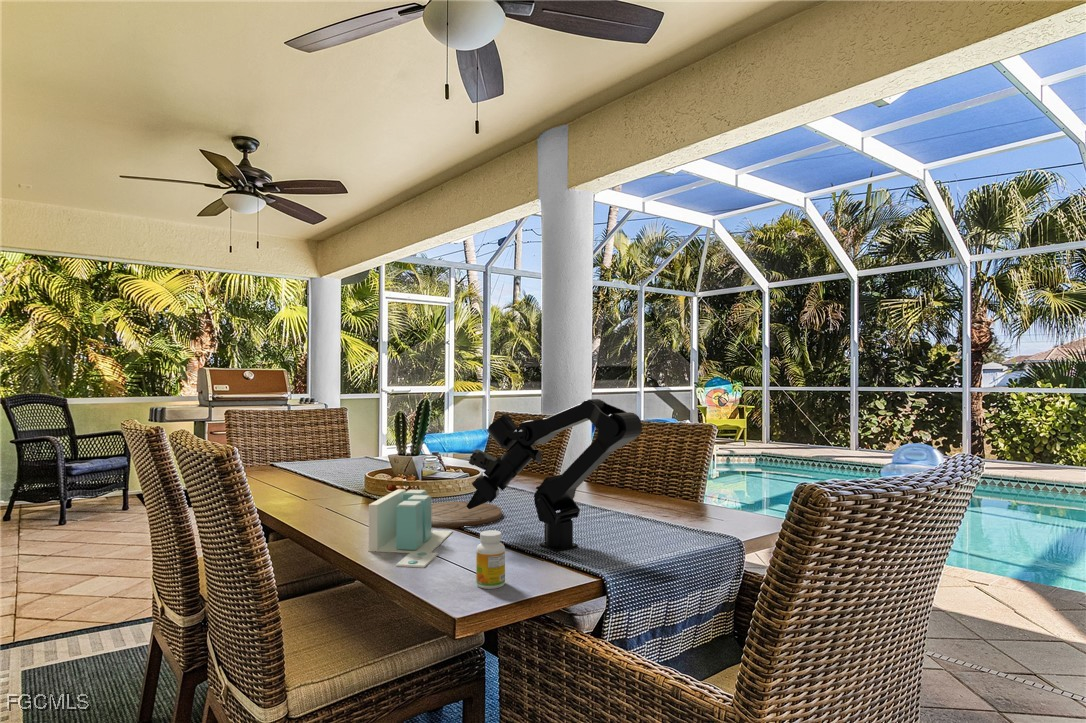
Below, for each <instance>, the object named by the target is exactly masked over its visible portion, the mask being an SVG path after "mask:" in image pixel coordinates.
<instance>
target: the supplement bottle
mask: <svg viewBox="0 0 1086 723" xmlns="http://www.w3.org/2000/svg"><path fill="white" fill-rule="evenodd" d="M479 540H480V543H479V544H478V545H477V546H476V552H475V553H476V557H475V558H476V561H475V562H476V563H475V564H476V567H475V568H476V571H475V572H476V573H475V575H476V578H475V579H476V581H475V582H476V583H475V584H476V586H477V587H479V588H481V589H486V590H493V589H499V588H501V587H503V586H504V585H505V583H506V547H505V545H504V544H503V543H502V542H501V541H502V532H501V531H499V530H495V529H494V530H493V529H491V530H483V531H481V532H480V533H479Z"/></svg>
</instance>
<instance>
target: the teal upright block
mask: <svg viewBox="0 0 1086 723" xmlns="http://www.w3.org/2000/svg"><path fill="white" fill-rule="evenodd" d="M407 501H421V503H423V542H426V541H427V540H428V539H429V538H430V537H431V530H432V527H431V504H432V496H431V495H428V494H427V495H413V496H412V497H410V498H408V500H407Z"/></svg>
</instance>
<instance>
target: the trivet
mask: <svg viewBox="0 0 1086 723" xmlns="http://www.w3.org/2000/svg"><path fill="white" fill-rule="evenodd" d="M468 503H469V501H444V502H436V503H435V502H434V503H431V528H434V529H460V528H459V527H464V526H475V527H479V526H478V525H481V526H484V525H483V524H486V525H489V524H492V523H491V522H493V523H495V522H497V521H499V520H500V519H501V518H502V517H503V516H502V515H503V514H502V512H503V511H502V509H501V507H499V506H497V505H495V504H492V503H488V502H486V503H483V504H481V505H479V506H476V507H474V508H472V509H468V508H467V505H468ZM498 519H499V520H498ZM496 520H497V521H496Z"/></svg>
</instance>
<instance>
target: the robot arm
mask: <svg viewBox="0 0 1086 723" xmlns="http://www.w3.org/2000/svg"><path fill="white" fill-rule="evenodd" d="M588 421H590V423H592V425H593V426H594V427H595V429H597V433H596V436H595V437H596V438H595V439H594V440H593V441H592V442H591V443H590V445H589V446H588V447H586V449H585V450H584V451H582V453H581V454H580V455H579V456H578V457H577V458H576V459H575V460H574V461H573V462H572V463H571V464H570V465H569V466H568V467H567V469H565V470H564V471H563V473H562V474H558V475H557V474H556V475H553V476H547V477H545V478H544V479H543V480H542V482H541V484H540V485H538V486H536V487H535V489H536V491H535V492H534V494H533V498H534V499H533V500H534V506H535V511H536V513H537V517H538V520H539V521H540V522H543V524H544V526H543V527H544V534H543V536H544V542H540V543H539V546H541V547H543V548H546V549H549V550H551V551H554V552H560V551H566V550H569V549H573V548H578V547H579V544H577V543H576V542H573V541H574V537H573V536H574V531H573V530H574V529H573V528H574V526H573V525H574V521H573V520H572V519H577V518H578V517H579V515H580V511H581V510H580V509H581V508H580V507H579V506H578V504H577V503H576V501H575V500H574V498H575V496H576V491H577V488H579V487H580V486H581V485H582V484H583V482H584V481H586V480H587V479H588V477H590V476H591V474H593V472H594V471H595V470H597V469H598V467H600V466H601V464H603V462H604V461H605V460H606V459H607V458H608V457H609V456H610V455H611V454H612V453H613V452H615V451H616V450H618V449H620V448H622V447H624V446H627V445H629V443H631V442H632V441H634V440H636V439H637V438H639V437H640V435H641V434H642V432H643V428H642V425H643V423H642V421H641V419H640V416H638V415H637V414H636V413H635V412H630V411H629V412H627V411H625V410H624V409H621V408H619V407H616V406H613V405H611V404H609V403H607V402H606V401H603V400H601V399H600V398H590V399H585V400H583V402H581V403H578V404H576V405H574V406H572V407H569V408H567V409H564V410H562V411H559V412H557V413H554V414H552V415H550V416H548V417H545V418H544V417H543V418H537V419H530V420H526V421H521V422H520V423H519V425H518V426H517V423H515V422H514V421H513V419H512V418H511V416H510V415H509V414H501V416H500V417H499V418H497V419H496V420H494V421H493V422H492V423H490V425H489V426H488V428H487V432H488V433H489V435H490V436H491V437H492V439H493V440H494V442H496V444H497V445H498V446H499V448H501V449H502V450H506V449H507V450H506V451H505V452H504V453H503V455H500V456H499V457H497V458H496V457H495V456H493V455H492V454H489V453H487V452H485V451H482V450H481V449H478V448H476V449H474V450H473V452H472V454H471V455H470V457H469V458H470V459H469V460H468V464H469V465H471V466H475V467H477V468H479V469H481V470H482V471H484V472H483V474H484V475H478V476H477V477H476V478H475V479H474V481H473V482H472V483H471V485H472V487H473V488H475V489H476V490H475V492H474V493H473V495H472V496H471V498H470V500H468V502H469V503H468V505H467V508H468V509H472V508H474V507H476V506H479V505H481V504H483V503H489V504H492V502H493V501H494V500H495V499H497V497H498V496H499V495H500V490H501V491H504V490H505V489H506V488H507V487H508V486H509V485H510V482H511V481H512V480H513V479H515V477H516V476H518V474H519V473H521V472H522V470H523V469H524V468H525V467H526V466H527V465H528V464H529V463H530V462H531V461H532V460H533V461H535V462H537V463H539V464H540V463H542V459H543V458H542V454H543V452H542V450H540V449H536V448H535V447H534V446H537V445H544V444H547V443H548V442H550V441H551V440H552V439H554V438H556V436H557V434H559V433H561V432H562V431H565V430H568V429H570V428H573V427H575V426H577V425H580V424H582V423H584V422H585V423H586V422H588Z"/></svg>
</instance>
